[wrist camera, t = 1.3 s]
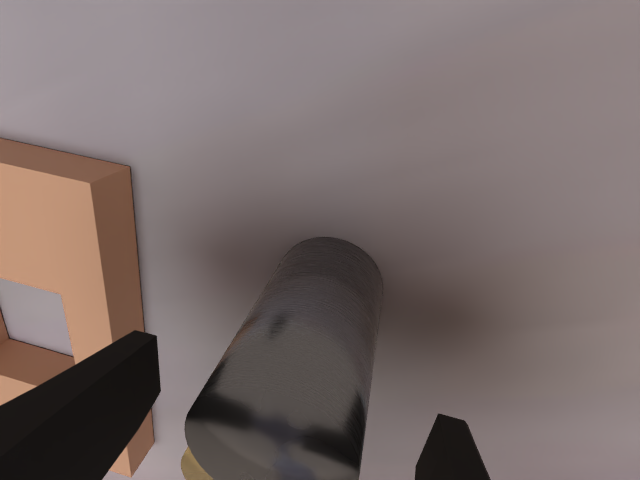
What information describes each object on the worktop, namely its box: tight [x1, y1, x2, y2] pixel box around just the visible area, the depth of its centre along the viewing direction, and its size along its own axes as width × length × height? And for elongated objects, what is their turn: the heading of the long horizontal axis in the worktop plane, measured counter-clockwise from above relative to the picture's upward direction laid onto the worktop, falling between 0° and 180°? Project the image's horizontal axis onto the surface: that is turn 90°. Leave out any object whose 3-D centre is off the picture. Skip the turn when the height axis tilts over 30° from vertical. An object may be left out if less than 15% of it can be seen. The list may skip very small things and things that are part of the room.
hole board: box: [0, 138, 154, 477], centre depth 18 cm, size 16×10×2 cm, turn 172°
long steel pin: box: [185, 237, 383, 480], centre depth 12 cm, size 4×4×7 cm
